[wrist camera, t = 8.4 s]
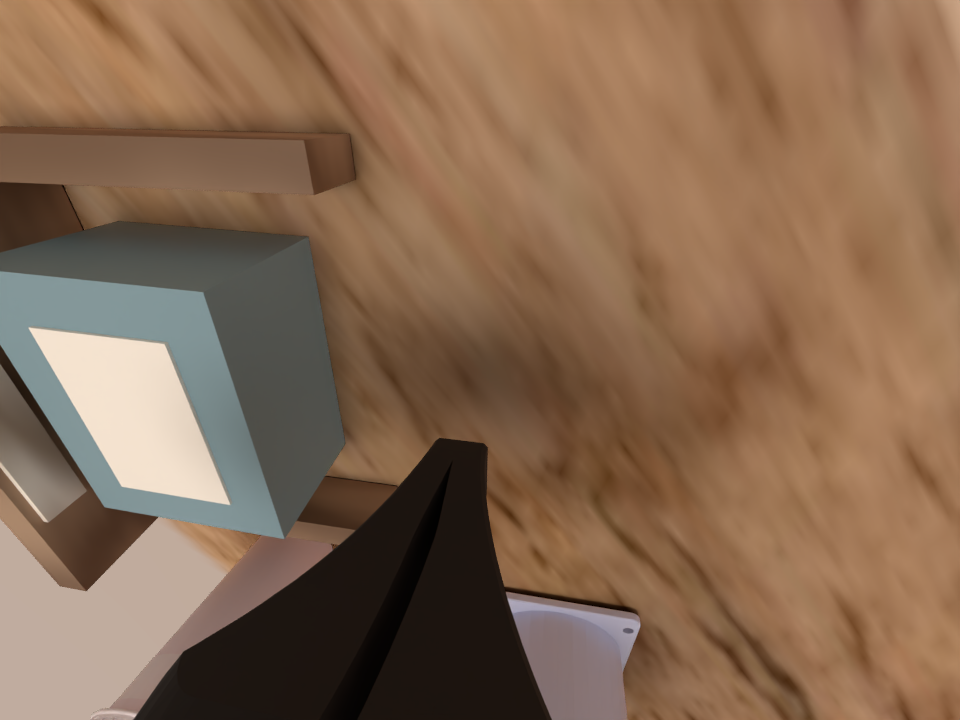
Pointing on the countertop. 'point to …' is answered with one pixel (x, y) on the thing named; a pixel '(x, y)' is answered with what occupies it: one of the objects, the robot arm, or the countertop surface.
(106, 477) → the carton
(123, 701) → the smoothie
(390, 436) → the countertop surface
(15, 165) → the display stand
